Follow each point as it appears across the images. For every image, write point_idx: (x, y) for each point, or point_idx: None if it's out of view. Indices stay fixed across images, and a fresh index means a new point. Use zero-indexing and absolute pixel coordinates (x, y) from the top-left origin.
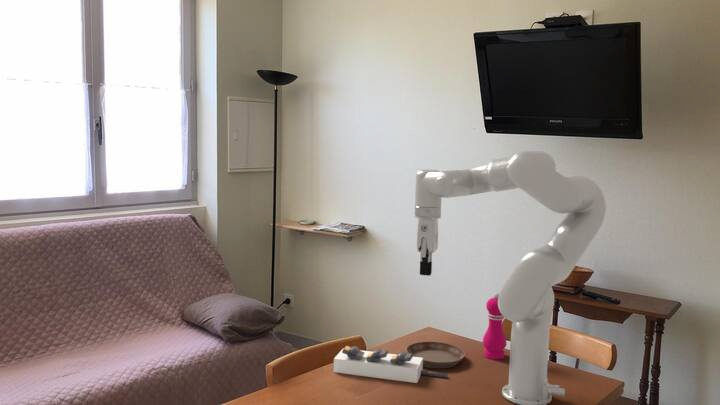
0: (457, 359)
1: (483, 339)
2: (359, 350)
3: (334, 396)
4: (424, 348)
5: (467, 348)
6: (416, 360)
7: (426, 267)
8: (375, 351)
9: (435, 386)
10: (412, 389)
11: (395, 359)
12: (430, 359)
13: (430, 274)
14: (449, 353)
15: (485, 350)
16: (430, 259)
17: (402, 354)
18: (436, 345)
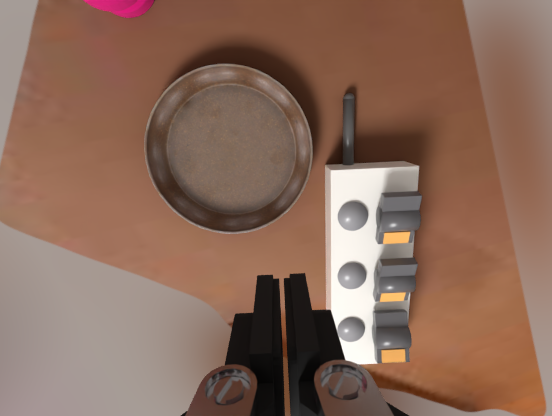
0: (210, 90)
1: (118, 2)
2: (375, 327)
3: (514, 300)
4: (179, 193)
5: (99, 77)
6: (357, 182)
7: (338, 347)
8: (401, 289)
9: (411, 113)
10: (443, 162)
11: (414, 230)
12: (244, 161)
13: (304, 275)
14: (174, 121)
15: (134, 5)
16: (255, 387)
17: (404, 219)
18: (156, 164)
